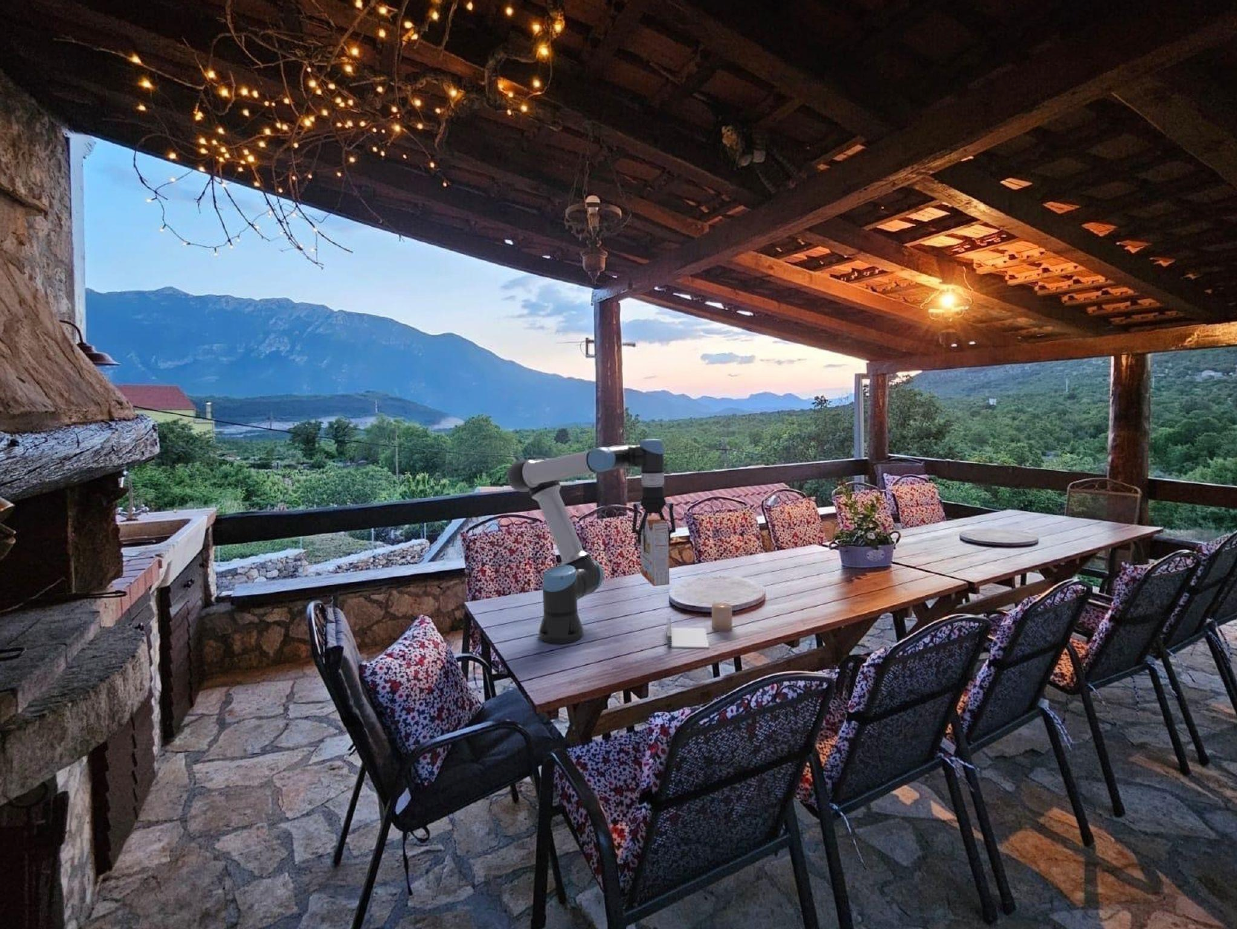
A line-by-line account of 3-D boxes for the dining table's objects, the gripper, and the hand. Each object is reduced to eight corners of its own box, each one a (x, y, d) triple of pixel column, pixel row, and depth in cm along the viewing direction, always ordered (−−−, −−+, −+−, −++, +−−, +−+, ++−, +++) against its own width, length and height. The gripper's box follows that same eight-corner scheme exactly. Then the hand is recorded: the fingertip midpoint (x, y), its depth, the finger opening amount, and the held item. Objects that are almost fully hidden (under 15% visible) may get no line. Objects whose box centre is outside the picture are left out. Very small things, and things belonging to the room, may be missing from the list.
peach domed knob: (712, 631, 192) (712, 609, 192) (711, 624, 199) (710, 602, 199) (733, 631, 192) (733, 609, 191) (730, 624, 199) (730, 602, 198)
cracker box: (640, 575, 192) (639, 515, 190) (656, 574, 193) (656, 514, 192) (652, 586, 178) (651, 522, 177) (669, 585, 179) (669, 521, 178)
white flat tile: (667, 647, 179) (667, 635, 179) (667, 629, 195) (667, 618, 195) (708, 648, 178) (708, 636, 178) (705, 629, 194) (705, 618, 194)
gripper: (621, 487, 180) (623, 556, 182) (683, 486, 179) (684, 555, 180) (623, 484, 188) (625, 550, 190) (682, 483, 186) (684, 550, 188)
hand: (654, 553), depth 185 cm, fingers closed on cracker box, 7 cm apart
